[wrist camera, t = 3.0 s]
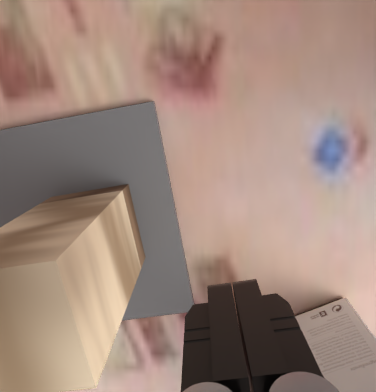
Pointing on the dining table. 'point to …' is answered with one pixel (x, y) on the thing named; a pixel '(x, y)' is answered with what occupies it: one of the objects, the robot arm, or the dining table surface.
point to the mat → (103, 178)
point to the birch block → (66, 288)
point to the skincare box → (341, 346)
